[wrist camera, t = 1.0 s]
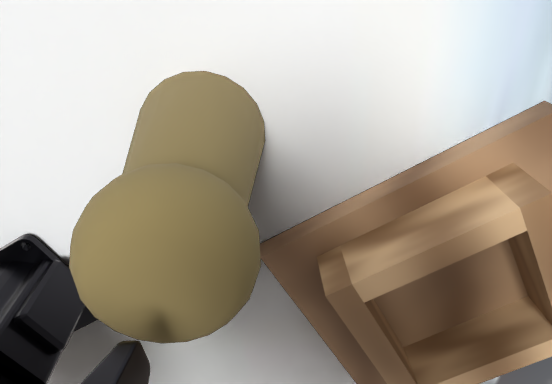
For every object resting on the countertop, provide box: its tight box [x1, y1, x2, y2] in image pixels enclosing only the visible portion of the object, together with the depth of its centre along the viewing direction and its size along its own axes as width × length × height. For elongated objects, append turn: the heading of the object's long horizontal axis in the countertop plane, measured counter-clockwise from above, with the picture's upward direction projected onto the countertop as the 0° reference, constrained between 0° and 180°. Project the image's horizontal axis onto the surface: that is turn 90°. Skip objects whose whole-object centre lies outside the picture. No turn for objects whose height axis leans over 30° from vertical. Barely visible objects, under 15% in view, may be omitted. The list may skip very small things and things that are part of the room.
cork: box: [69, 71, 265, 343], centre depth 15 cm, size 6×6×11 cm
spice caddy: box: [260, 101, 552, 384], centre depth 23 cm, size 16×14×4 cm
